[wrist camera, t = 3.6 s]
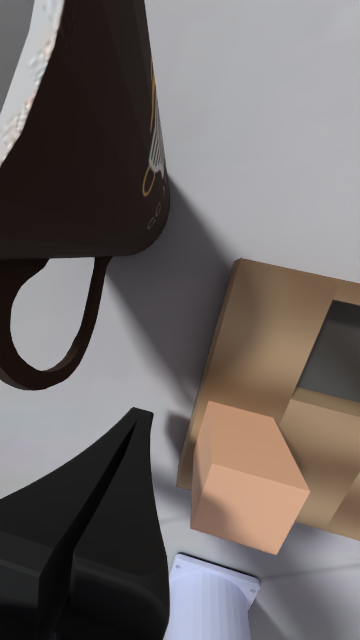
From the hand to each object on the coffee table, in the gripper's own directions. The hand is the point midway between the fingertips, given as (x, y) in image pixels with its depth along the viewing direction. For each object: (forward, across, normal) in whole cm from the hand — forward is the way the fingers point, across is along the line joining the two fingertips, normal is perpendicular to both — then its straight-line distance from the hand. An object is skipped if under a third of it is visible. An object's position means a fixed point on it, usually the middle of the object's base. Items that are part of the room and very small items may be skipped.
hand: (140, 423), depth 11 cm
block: (+1, -6, 0) cm, 6 cm away
